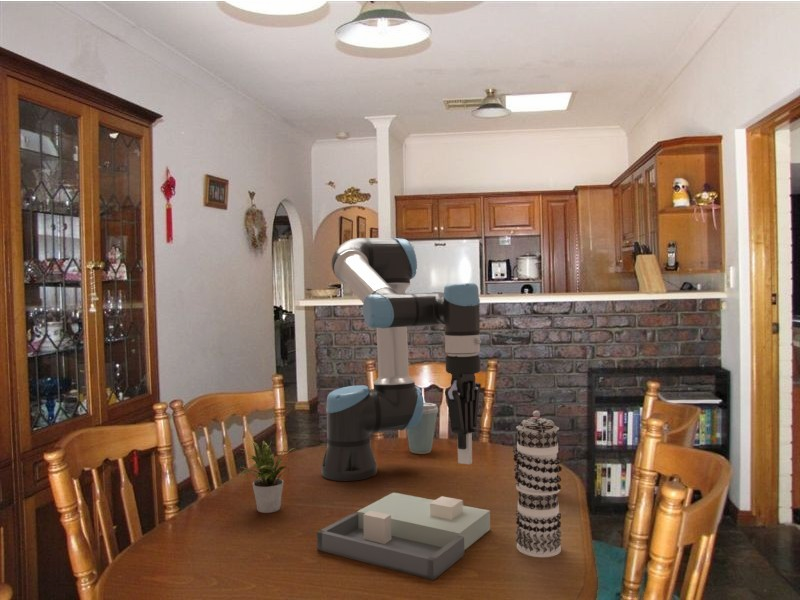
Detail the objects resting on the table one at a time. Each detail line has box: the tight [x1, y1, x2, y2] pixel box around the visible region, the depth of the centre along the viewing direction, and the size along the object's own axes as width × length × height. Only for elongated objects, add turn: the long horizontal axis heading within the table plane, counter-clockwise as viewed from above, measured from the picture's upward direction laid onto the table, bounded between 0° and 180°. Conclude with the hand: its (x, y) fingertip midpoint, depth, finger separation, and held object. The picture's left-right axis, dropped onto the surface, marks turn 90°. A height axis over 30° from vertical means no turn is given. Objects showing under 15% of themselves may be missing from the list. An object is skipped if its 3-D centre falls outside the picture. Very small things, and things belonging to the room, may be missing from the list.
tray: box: [316, 512, 465, 581], centre depth 124 cm, size 26×12×4 cm, turn 58°
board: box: [356, 491, 491, 551], centre depth 135 cm, size 24×14×4 cm, turn 58°
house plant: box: [240, 439, 295, 514], centre depth 150 cm, size 14×14×16 cm
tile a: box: [363, 511, 391, 544], centre depth 129 cm, size 5×5×2 cm
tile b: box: [430, 495, 464, 520], centre depth 133 cm, size 5×5×2 cm
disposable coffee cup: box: [406, 402, 439, 455], centre depth 198 cm, size 11×11×15 cm
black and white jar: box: [512, 416, 563, 558], centre depth 125 cm, size 9×9×25 cm
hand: (465, 462), depth 140 cm, fingers closed
